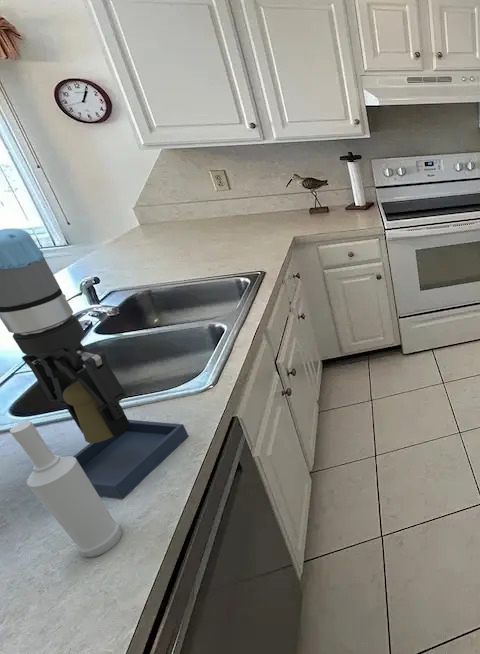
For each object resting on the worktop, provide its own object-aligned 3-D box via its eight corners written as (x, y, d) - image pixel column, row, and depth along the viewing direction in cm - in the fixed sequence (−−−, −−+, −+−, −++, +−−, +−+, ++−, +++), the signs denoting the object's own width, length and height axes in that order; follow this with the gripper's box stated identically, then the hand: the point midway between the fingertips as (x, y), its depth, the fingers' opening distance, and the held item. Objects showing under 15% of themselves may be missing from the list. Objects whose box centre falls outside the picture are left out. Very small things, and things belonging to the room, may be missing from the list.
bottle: (78, 566, 63) (-14, 448, 52) (84, 539, 67) (-2, 424, 56) (122, 545, 66) (42, 429, 55) (124, 520, 69) (51, 407, 59)
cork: (86, 429, 77) (57, 382, 73) (127, 413, 81) (102, 368, 76) (83, 448, 73) (53, 400, 68) (127, 431, 76) (101, 384, 72)
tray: (53, 491, 75) (44, 478, 74) (128, 430, 88) (121, 418, 87) (122, 499, 73) (114, 486, 72) (188, 435, 86) (183, 424, 85)
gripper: (116, 314, 69) (168, 418, 79) (22, 309, 71) (84, 411, 81) (69, 339, 62) (132, 449, 72) (-34, 333, 65) (41, 440, 75)
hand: (106, 428), depth 77 cm, fingers closed on cork, 6 cm apart
